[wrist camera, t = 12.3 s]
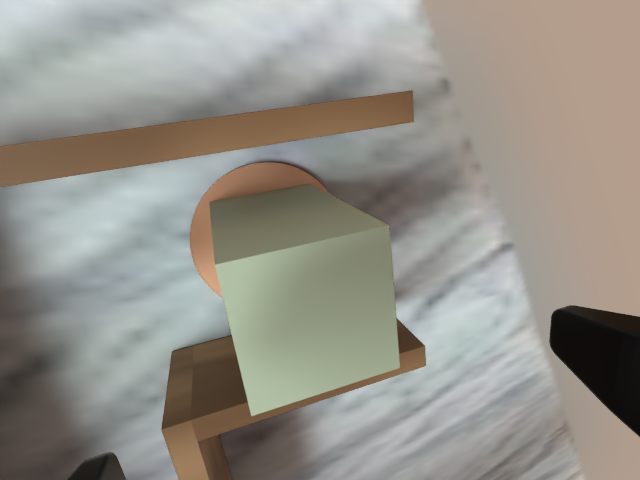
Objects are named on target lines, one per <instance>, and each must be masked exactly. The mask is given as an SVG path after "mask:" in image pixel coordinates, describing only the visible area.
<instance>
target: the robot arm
mask: <svg viewBox="0 0 640 480" xmlns="http://www.w3.org/2000/svg"><path fill="white" fill-rule="evenodd" d="M549 341H550V342H549V343H550V346H551V349H552V350H553V352H554V353H555V354H556V355H557V356H558V357H559V359H560V360H561V361H562V362H563V363H564V364H565V365H566V366H567V367H568V368H569V369H570V370H571V371H572V372H573V373H574V374H575V375H576V376H577V377H578V378H579V379H580V380H581V381H582V382H583V383H584V384H585V385H586V386H587V387H588V388H589V390H590V391H591V392H592V393H593V394H594V395H595V396H596V397H597V398H598V399H599V400H600V401H601V402H602V403H603V404H604V405H605V406H606V407H607V408H608V409H609V410H610V411H611V412H613V414H615V415H616V416H617V417H618V418H619V419H620V420H621V421H622V422H623V423H624V424H626V425H627V426H628V427H629V428H630V429H631V430H632V431H633V432H635V433H636V434H637V435H638V436H639V437H640V317H637V316H632V315H626V314H620V313H614V312H608V311H603V310H596V309H591V308H585V307H579V306H566V307H563V308H560V309H557V310H555V311H554V312H553V314H552V316H551V327H550V340H549ZM68 480H126V478H125V476H124V474H123V471H122V469H121V466H120V464H119V461H118V459H117V457H116V455H115V454H114V453H111V452H108V453H105V454H102V455H99V456H95V457H92V458H89V459H87V460H85V461H84V462H83V463H82V464H81V465H80V466H79V467H78V468H77V469H76V471H75V472H74V473H73V474H72V475H71V476H70V478H69V479H68Z"/></svg>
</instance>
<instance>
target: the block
mask: <svg viewBox="0 0 640 480" xmlns="http://www.w3.org/2000/svg"><path fill="white" fill-rule="evenodd" d="M209 207H210V218H211V229H212V240H213V251H214V262H215V268H216V272H217V276H218V280H219V284H220V289H221V293H222V297H223V301H224V305H225V309H226V313H227V318H228V322H229V326H230V330H231V334H232V338H233V342H234V347H235V351H236V355H237V359H238V363H239V367H240V371H241V376H242V380H243V384H244V388H245V392H246V396H247V400H248V405H249V409H250V413H251V416H254V415H257V414H260V413H263V412H266V411H269V410H272V409H275V408H278V407H281V406H285V405H288V404H291V403H294V402H297V401H300V400H303V399H306V398H309V397H312V396H315V395H318V394H321V393H324V392H328V391H331V390H334V389H337V388H340V387H343V386H346V385H349V384H352V383H355V382H358V381H361V380H364V379H367V378H370V377H374V376H377V375H380V374H383V373H386V372H389V371H392V370H395V369H398V368H400V361H399V348H398V334H397V321H396V307H395V294H394V281H393V267H392V254H391V240H390V227H389V225H388V224H386V223H384V222H382V221H380V220H378V219H376V218H374V217H372V216H370V215H368V214H367V213H365V212H363V211H361V210H359V209H357V208H355V207H353V206H351V205H349V204H347V203H346V202H344V201H342V200H340V199H338V198H336V197H334V196H332V195H330V194H328V193H326V192H324V191H323V190H321V189H319V188H317V187H315V186H313V185H311V184H304V185H299V186H293V187H288V188H282V189H277V190H272V191H266V192H261V193H255V194H250V195H245V196H239V197H234V198H229V199H223V200H218V201H212V202H209Z"/></svg>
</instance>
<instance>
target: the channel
mask: <svg viewBox="0 0 640 480" xmlns="http://www.w3.org/2000/svg"><path fill="white" fill-rule="evenodd" d="M410 122H414V113H413V93H412V91H405V92H398V93H390V94H383V95H376V96H368V97H361V98H353V99H346V100H339V101H331V102H324V103H317V104H309V105H302V106H295V107H287V108H280V109H272V110H265V111H258V112H250V113H243V114H236V115H228V116H221V117H213V118H206V119H199V120H191V121H184V122H177V123H169V124H162V125H154V126H147V127H140V128H132V129H125V130H118V131H110V132H103V133H95V134H88V135H81V136H73V137H66V138H59V139H51V140H44V141H37V142H29V143H22V144H14V145H7V146H0V187H4V186H11V185H17V184H23V183H30V182H36V181H42V180H49V179H55V178H62V177H68V176H74V175H81V174H87V173H93V172H100V171H106V170H112V169H119V168H125V167H131V166H138V165H144V164H150V163H157V162H163V161H169V160H176V159H182V158H188V157H195V156H201V155H207V154H214V153H220V152H226V151H233V150H239V149H245V148H252V147H258V146H264V145H271V144H277V143H283V142H290V141H296V140H302V139H309V138H315V137H321V136H328V135H334V134H340V133H347V132H353V131H359V130H366V129H372V128H378V127H385V126H391V125H397V124H404V123H410ZM304 184H311V185H313V186H315V187H317V188H319V189H321V190H323V191H324V192H326V193H328V191H327V190H326V189H325V188H324V186H323V185H322V184H321V183H320V182H319V181H318V180H316V179H315V178H314V177H313V176H311V175H310V174H308V173H306V172H305V171H303V170H300V169H298V168H296V167H293V166H290V165H287V164H282V163H276V162H261V163H253V164H249V165H245V166H242V167H240V168H237V169H235V170H233V171H231V172H229V173H227V174H225V175H224V176H223V177H221V178H220V179H219V180H217V181H216V182H215V183H214V184H213V185H212V186H211V187H210V188H209V189H208V190H207V192H206V193H205V194H204V196H203V197H202V199H201V200H200V202H199V204H198V206H197V208H196V211H195V213H194V216H193V220H192V224H191V232H190V247H191V253H192V257H193V260H194V263H195V266H196V268H197V270H198V272H199V274H200V276H201V277H202V278H203V280H204V281H205V283H206V284H207V285H208V286H209V287H210V288H211V289H212V290H213V291H214V292H216V293H217V294H218V295H219V296H221V297H222V293H221V289H220V284H219V280H218V276H217V272H216V268H215V262H214V251H213V240H212V229H211V218H210V207H209V202H212V201H218V200H223V199H229V198H234V197H239V196H245V195H250V194H255V193H261V192H266V191H272V190H277V189H282V188H288V187H293V186H299V185H304ZM328 194H329V193H328ZM396 321H397V334H398V348H399V361H400V368H398V369H395V370H392V371H389V372H386V373H383V374H380V375H377V376H374V377H370V378H367V379H364V380H361V381H358V382H355V383H352V384H349V385H346V386H343V387H340V388H337V389H334V390H331V391H328V392H324V393H321V394H318V395H315V396H312V397H309V398H306V399H303V400H300V401H297V402H294V403H291V404H288V405H285V406H281V407H278V408H275V409H272V410H269V411H266V412H263V413H260V414H257V415H254V416H251V413H250V409H249V405H248V400H247V396H246V392H245V388H244V384H243V380H242V376H241V371H240V367H239V363H238V359H237V355H236V351H235V347H234V342H233V338H232V335H231V336H227V337H224V338H220V339H216V340H213V341H209V342H205V343H202V344H198V345H194V346H191V347H187V348H183V349H180V350H176V351H172V355H171V363H170V370H169V378H168V385H167V392H166V400H165V407H164V414H163V422H162V429H161V430H162V433H163V435H164V438H165V441H166V444H167V447H168V450H169V453H170V456H171V458H172V461H173V464H174V467H175V470H176V473H177V476H178V479H179V480H232V478H231V475H230V471H229V468H228V464H227V461H226V457H225V454H224V450H223V447H222V443H221V440H220V436H219V434H222V433H225V432H228V431H231V430H234V429H237V428H240V427H243V426H246V425H249V424H252V423H255V422H258V421H261V420H264V419H267V418H270V417H273V416H276V415H279V414H282V413H285V412H288V411H291V410H294V409H297V408H300V407H303V406H306V405H309V404H312V403H315V402H318V401H321V400H324V399H327V398H330V397H333V396H336V395H339V394H342V393H345V392H348V391H351V390H354V389H357V388H360V387H363V386H366V385H369V384H372V383H375V382H379V381H382V380H385V379H388V378H391V377H394V376H397V375H400V374H403V373H406V372H409V371H412V370H415V369H418V368H421V367H424V366H426V357H425V346H424V345H423V344H422V343H421V342H420V341H419V340H418V339H417V338H416V337H415V336H414V335H413V334H412V333H411V332H410V331H409V330H408V329H407V328H406V327H405V326H404V325H403V324H402V323H401V322H400V321H399V320H398V319H397V318H396Z"/></svg>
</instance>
